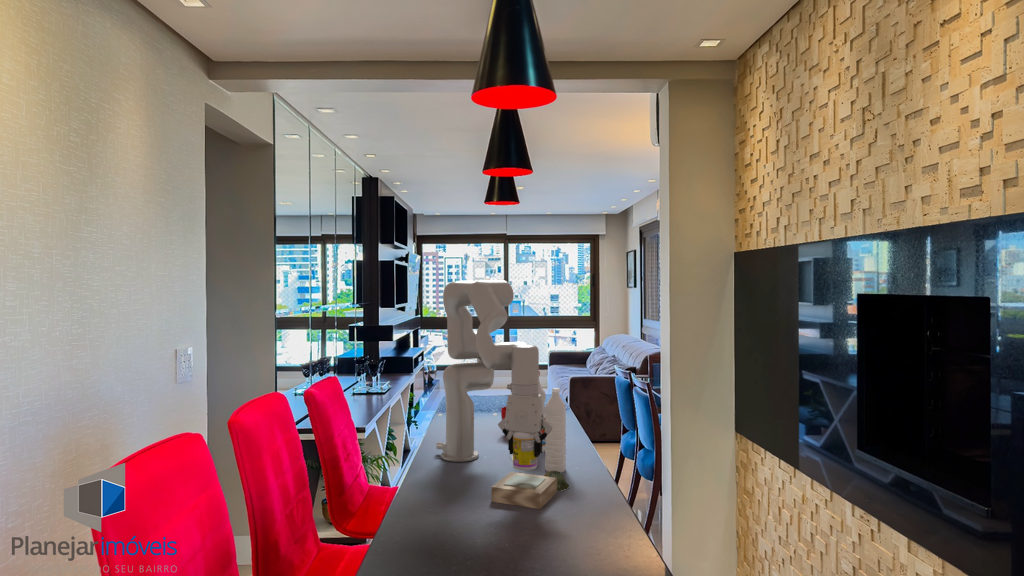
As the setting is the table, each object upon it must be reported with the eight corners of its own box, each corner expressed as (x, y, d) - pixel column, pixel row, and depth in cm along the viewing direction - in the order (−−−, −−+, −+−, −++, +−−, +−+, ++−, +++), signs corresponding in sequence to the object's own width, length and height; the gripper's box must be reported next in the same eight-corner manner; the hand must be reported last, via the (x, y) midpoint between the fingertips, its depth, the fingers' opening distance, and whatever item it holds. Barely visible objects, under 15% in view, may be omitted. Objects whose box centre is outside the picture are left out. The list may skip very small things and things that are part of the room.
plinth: (491, 501, 163) (491, 485, 163) (511, 485, 176) (511, 470, 176) (540, 509, 158) (540, 492, 157) (557, 491, 170) (557, 476, 170)
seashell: (531, 474, 173) (543, 465, 183) (530, 488, 173) (542, 478, 183) (565, 481, 170) (575, 471, 179) (564, 496, 170) (574, 485, 179)
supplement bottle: (512, 464, 170) (511, 418, 170) (535, 463, 170) (535, 418, 170) (514, 471, 163) (514, 424, 163) (538, 470, 163) (538, 423, 163)
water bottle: (565, 473, 187) (565, 393, 187) (544, 472, 188) (544, 392, 187) (566, 465, 196) (566, 388, 195) (546, 464, 196) (546, 387, 196)
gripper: (490, 389, 166) (490, 454, 166) (550, 394, 160) (550, 461, 160) (501, 385, 173) (501, 447, 173) (559, 389, 167) (559, 454, 167)
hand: (525, 453), depth 167 cm, fingers closed on supplement bottle, 6 cm apart
